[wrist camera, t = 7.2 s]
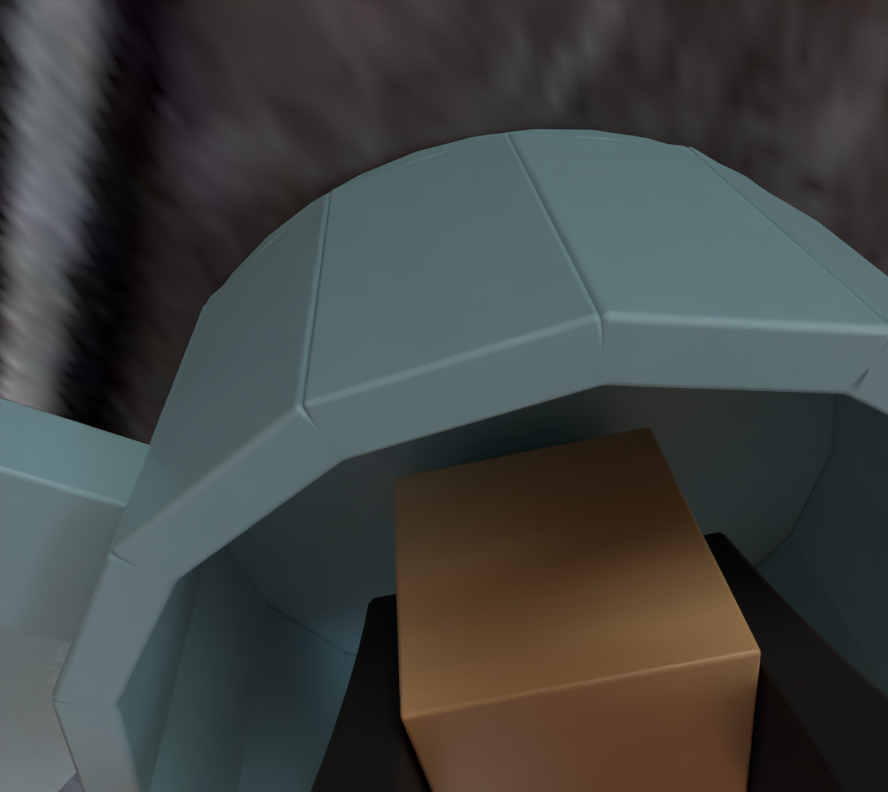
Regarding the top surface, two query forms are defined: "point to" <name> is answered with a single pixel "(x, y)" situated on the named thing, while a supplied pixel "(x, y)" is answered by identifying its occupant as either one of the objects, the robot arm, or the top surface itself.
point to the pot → (442, 433)
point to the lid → (31, 714)
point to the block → (568, 627)
